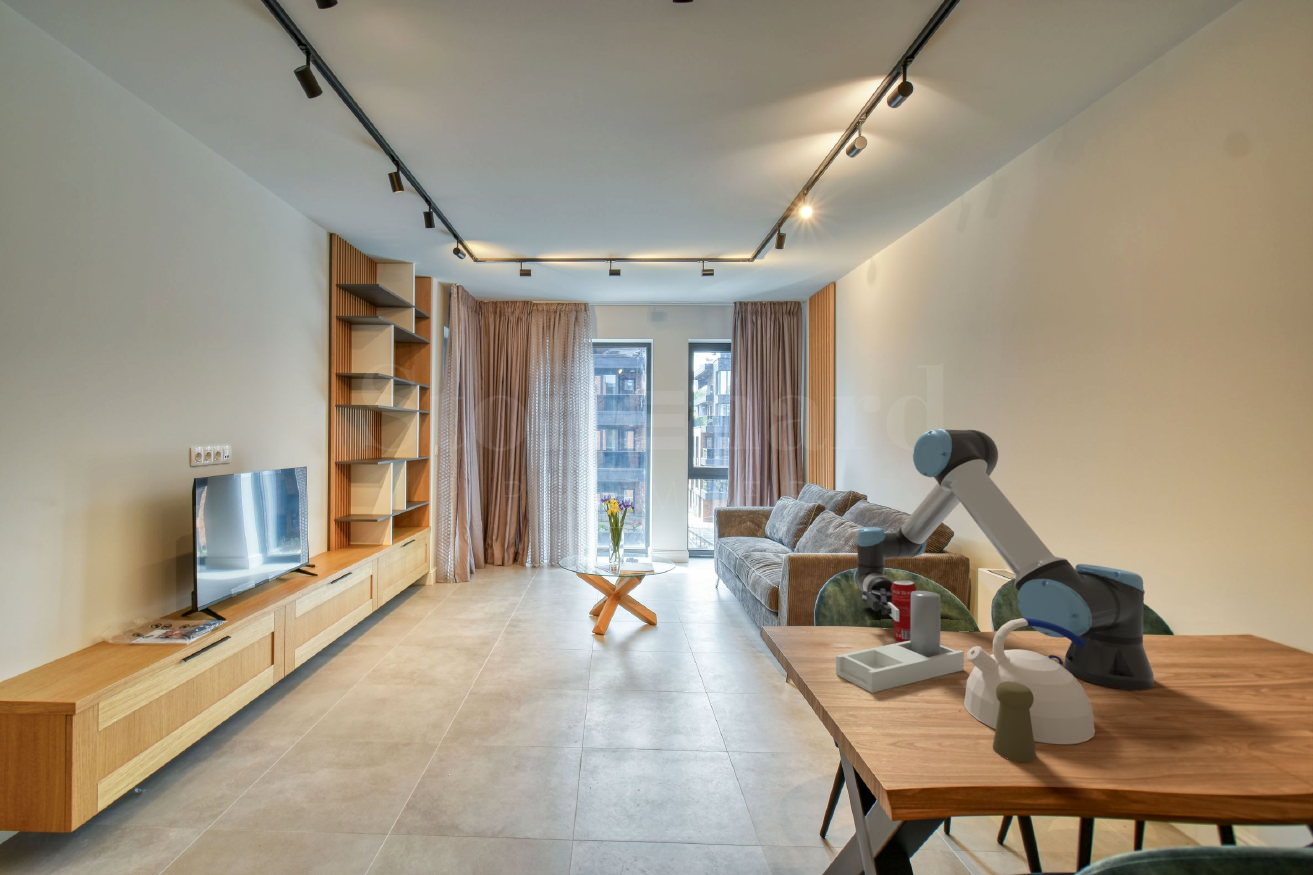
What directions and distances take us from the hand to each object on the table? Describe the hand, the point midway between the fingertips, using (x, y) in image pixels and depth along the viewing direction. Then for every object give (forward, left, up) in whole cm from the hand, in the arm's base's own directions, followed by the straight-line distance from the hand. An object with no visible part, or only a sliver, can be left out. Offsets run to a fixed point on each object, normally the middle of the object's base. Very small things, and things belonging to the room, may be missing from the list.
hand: (909, 615), depth 140 cm
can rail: (-8, +12, -8) cm, 17 cm away
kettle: (-32, +7, -9) cm, 34 cm away
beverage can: (+4, -3, -8) cm, 10 cm away
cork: (-39, +21, -8) cm, 46 cm away
